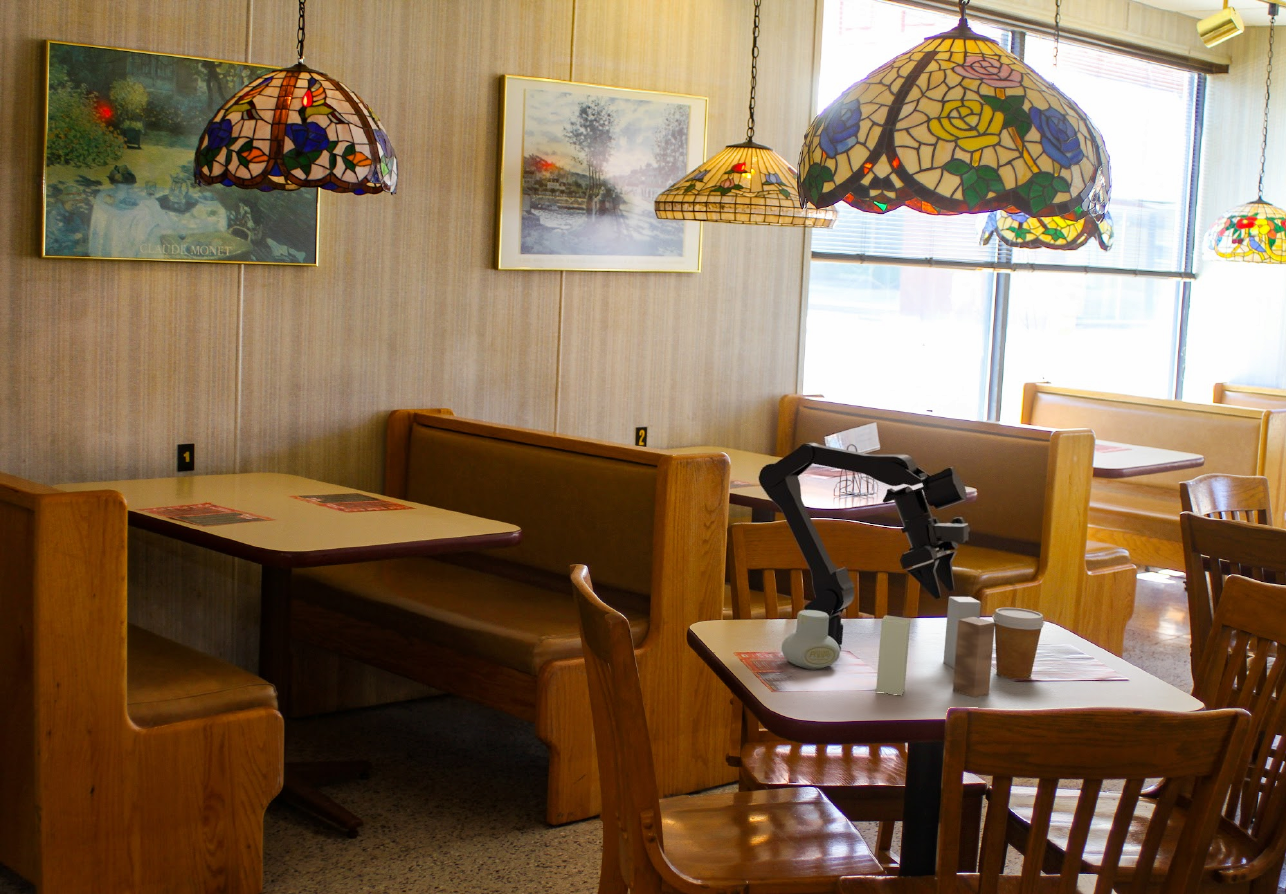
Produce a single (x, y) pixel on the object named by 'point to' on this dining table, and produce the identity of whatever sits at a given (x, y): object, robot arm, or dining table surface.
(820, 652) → the air freshener
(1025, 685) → the dining table surface
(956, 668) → the walnut post
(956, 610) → the grey post
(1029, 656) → the disposable coffee cup
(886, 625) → the sage post
